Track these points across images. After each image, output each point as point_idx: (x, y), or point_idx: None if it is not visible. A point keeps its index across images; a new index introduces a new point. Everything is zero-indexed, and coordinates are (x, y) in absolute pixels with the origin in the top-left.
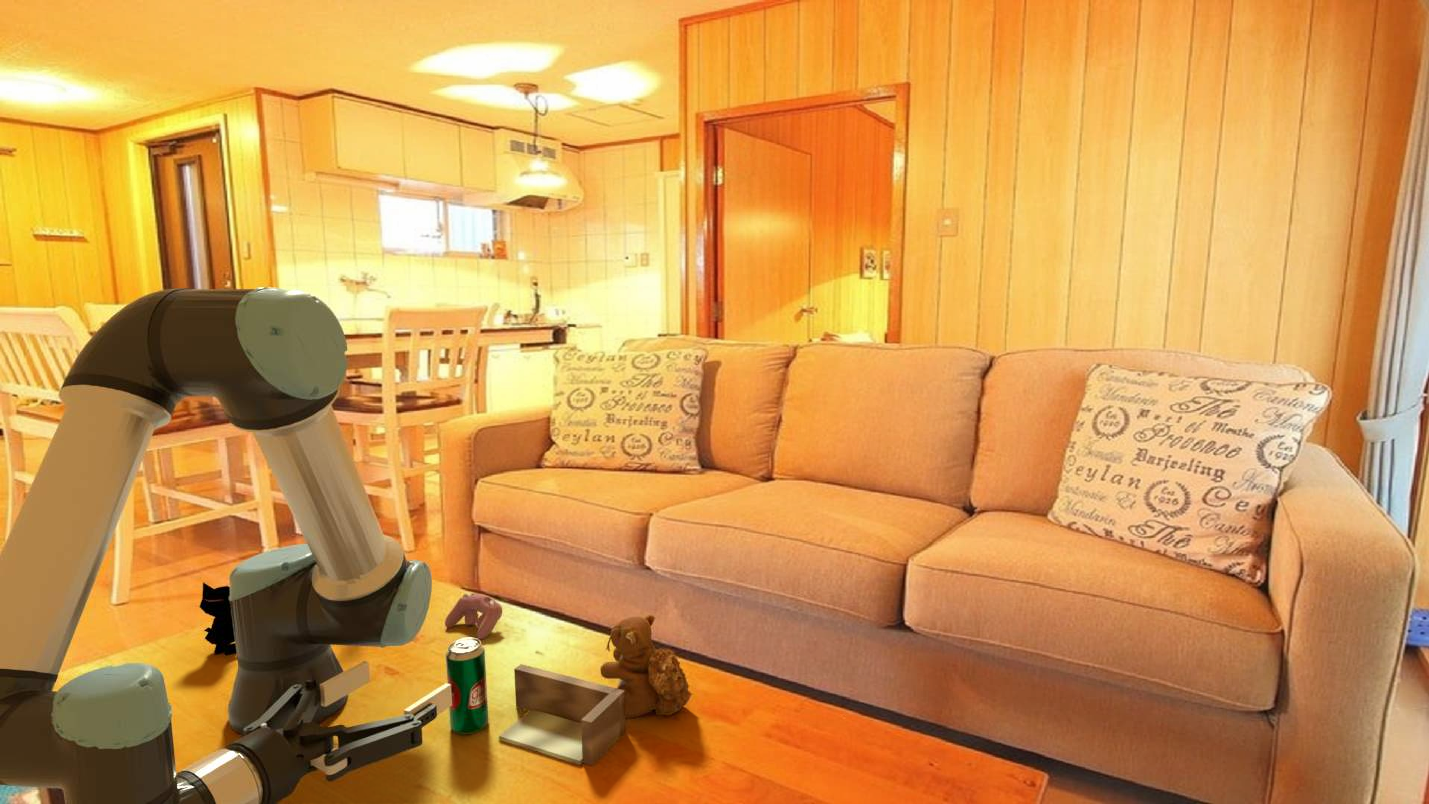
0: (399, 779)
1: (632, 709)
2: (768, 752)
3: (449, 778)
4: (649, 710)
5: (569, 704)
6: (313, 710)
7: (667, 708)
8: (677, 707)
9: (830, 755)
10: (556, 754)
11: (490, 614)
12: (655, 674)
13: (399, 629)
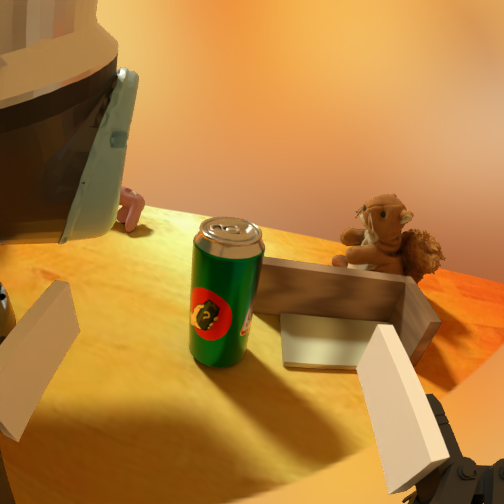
0: (200, 478)
1: None
2: (479, 308)
3: (282, 452)
4: None
5: (342, 301)
6: (2, 484)
7: None
8: None
9: (496, 301)
10: None
11: (136, 204)
12: (426, 256)
13: (111, 195)
